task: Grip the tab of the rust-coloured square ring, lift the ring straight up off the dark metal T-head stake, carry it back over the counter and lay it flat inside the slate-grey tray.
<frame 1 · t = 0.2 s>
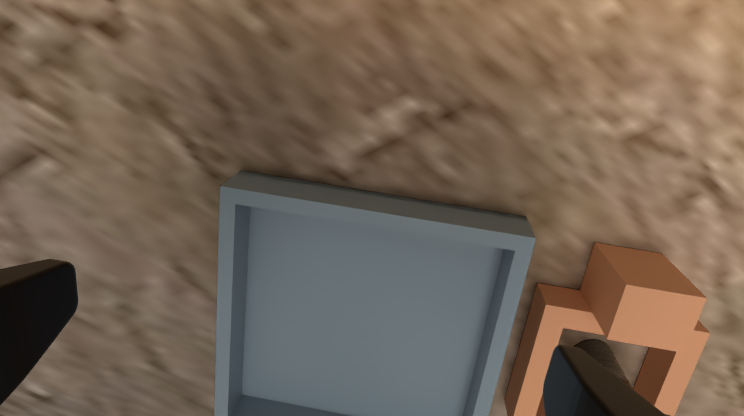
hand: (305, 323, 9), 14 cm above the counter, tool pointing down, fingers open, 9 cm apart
stake: (590, 356, 25), on the counter
tray: (363, 316, 26), on the counter
ring: (590, 356, 25), on the counter
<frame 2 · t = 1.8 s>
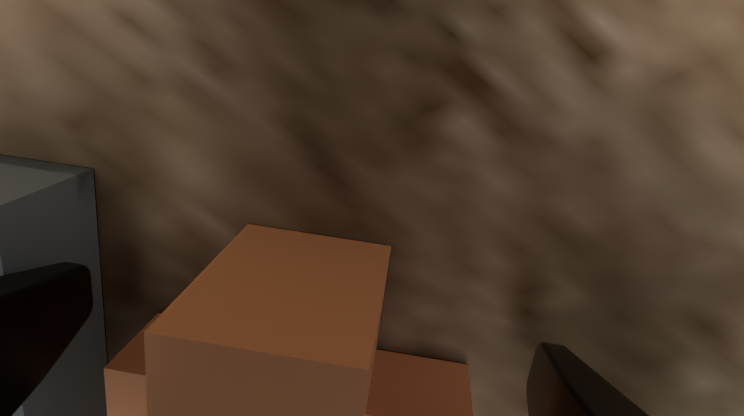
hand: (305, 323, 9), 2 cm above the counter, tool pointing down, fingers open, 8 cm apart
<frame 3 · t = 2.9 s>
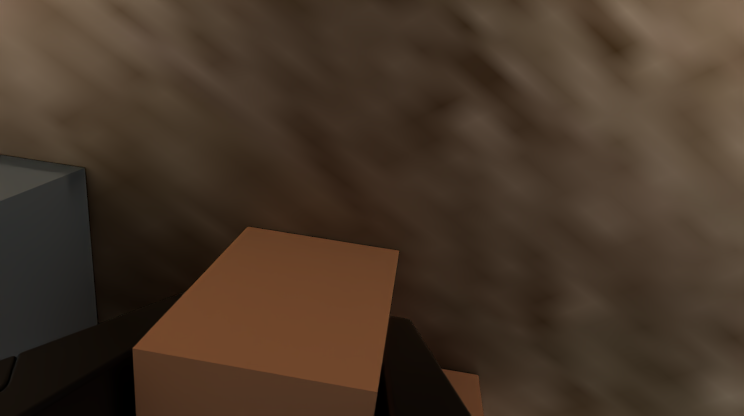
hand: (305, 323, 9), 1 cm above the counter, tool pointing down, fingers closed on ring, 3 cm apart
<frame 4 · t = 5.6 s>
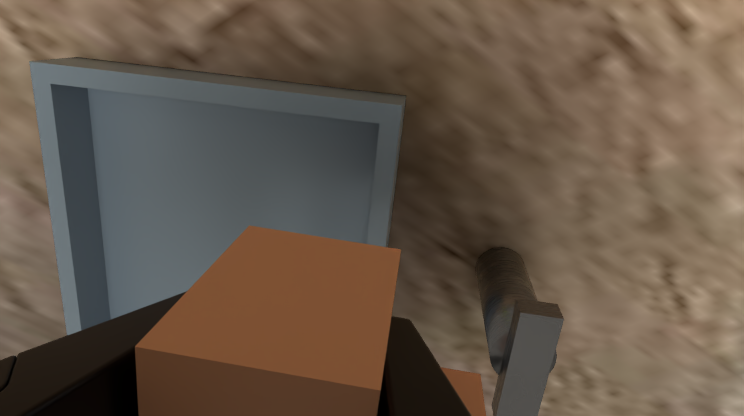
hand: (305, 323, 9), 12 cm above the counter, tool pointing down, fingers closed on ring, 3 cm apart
stake: (499, 269, 21), on the counter
tray: (236, 231, 22), on the counter
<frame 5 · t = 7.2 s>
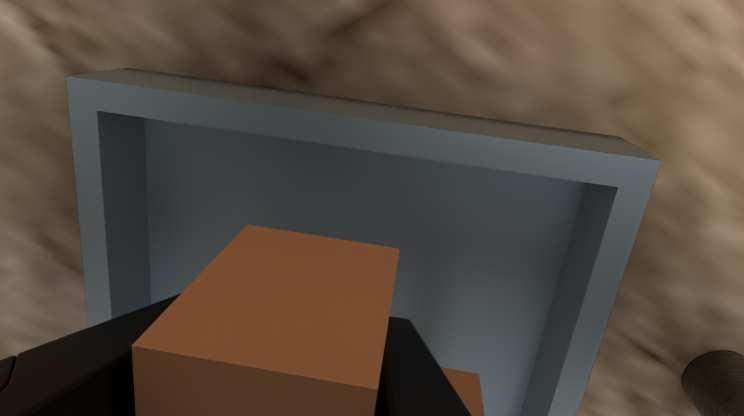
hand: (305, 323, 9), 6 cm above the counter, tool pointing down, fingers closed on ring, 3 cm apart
stake: (718, 379, 15), on the counter
tray: (341, 315, 16), on the counter
when the fingers open (3 cm above the counter, at t = 8.4 s): ring drops 1 cm, resting on tray.
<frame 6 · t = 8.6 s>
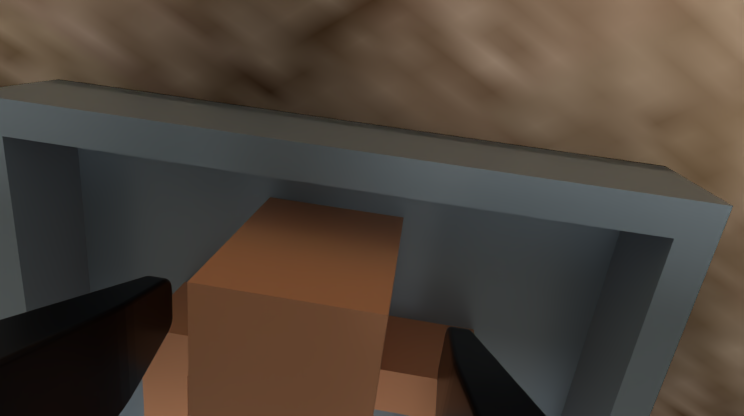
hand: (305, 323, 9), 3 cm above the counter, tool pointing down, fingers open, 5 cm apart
tray: (322, 372, 13), on the counter
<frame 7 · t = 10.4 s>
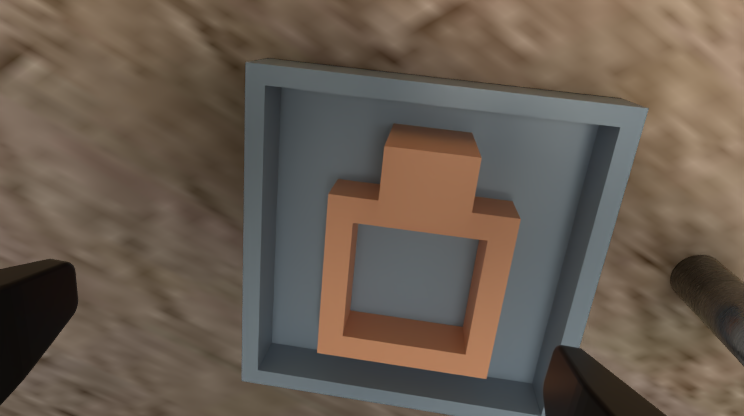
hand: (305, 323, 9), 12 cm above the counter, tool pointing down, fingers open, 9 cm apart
stake: (697, 277, 20), on the counter
tray: (416, 238, 21), on the counter
ring: (413, 267, 21), resting on tray
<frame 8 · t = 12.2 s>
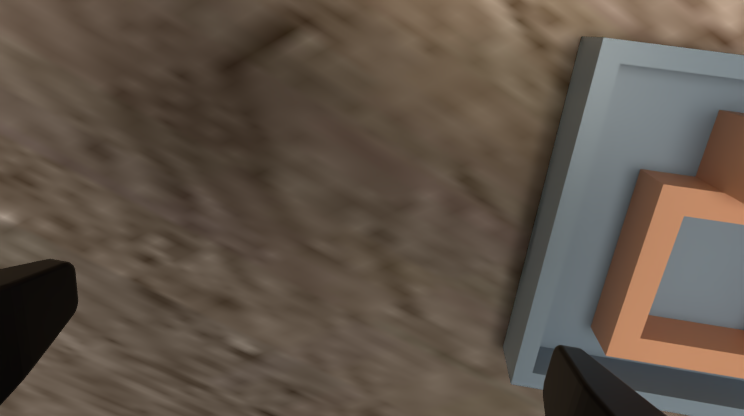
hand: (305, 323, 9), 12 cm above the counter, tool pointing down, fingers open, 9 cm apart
tray: (707, 235, 20), on the counter
ring: (704, 266, 20), resting on tray
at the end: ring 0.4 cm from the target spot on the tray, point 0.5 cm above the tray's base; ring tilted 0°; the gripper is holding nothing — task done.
